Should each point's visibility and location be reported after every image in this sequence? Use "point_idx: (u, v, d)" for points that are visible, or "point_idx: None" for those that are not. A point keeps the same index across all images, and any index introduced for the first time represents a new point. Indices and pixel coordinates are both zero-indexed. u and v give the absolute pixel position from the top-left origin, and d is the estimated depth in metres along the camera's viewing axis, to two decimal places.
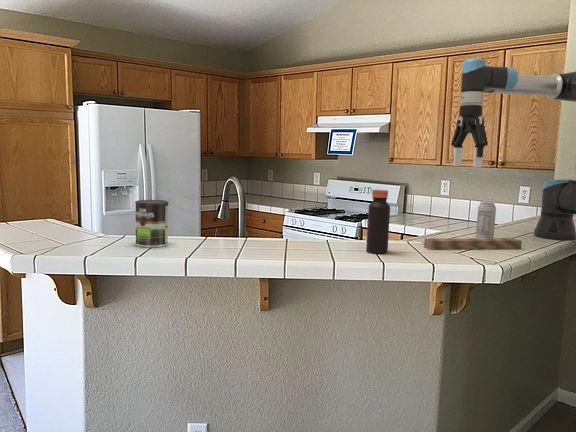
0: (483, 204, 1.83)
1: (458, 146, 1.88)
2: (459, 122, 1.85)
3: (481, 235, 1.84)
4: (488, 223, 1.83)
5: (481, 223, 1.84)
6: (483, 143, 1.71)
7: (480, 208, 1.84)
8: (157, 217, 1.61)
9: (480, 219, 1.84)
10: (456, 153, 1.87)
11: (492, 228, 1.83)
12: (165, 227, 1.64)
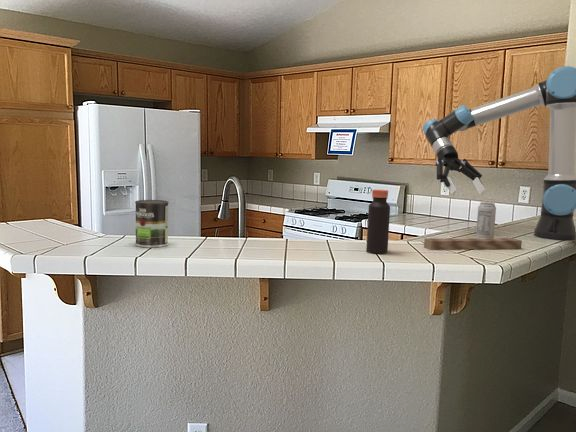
0: (483, 204, 1.83)
1: (475, 178, 2.00)
2: None
3: (481, 235, 1.84)
4: (488, 223, 1.83)
5: (481, 223, 1.84)
6: (437, 177, 1.94)
7: (480, 208, 1.84)
8: (157, 217, 1.61)
9: (480, 219, 1.84)
10: (475, 185, 1.99)
11: (492, 228, 1.83)
12: (165, 227, 1.64)
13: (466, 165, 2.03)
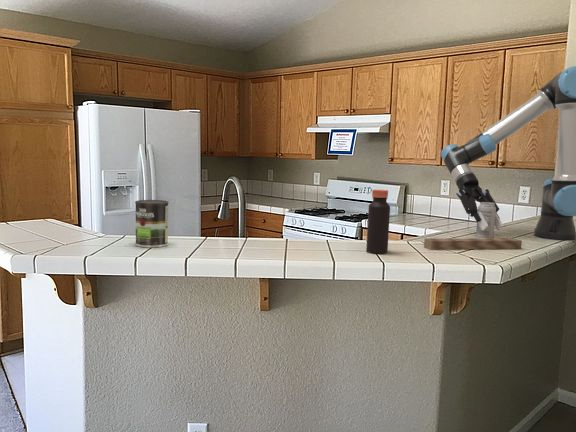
0: (483, 204, 1.83)
1: None
2: (483, 193, 1.94)
3: (481, 235, 1.84)
4: (488, 223, 1.83)
5: None
6: (467, 211, 1.85)
7: (480, 208, 1.84)
8: (157, 217, 1.61)
9: None
10: None
11: (492, 228, 1.83)
12: (165, 227, 1.64)
13: (486, 195, 1.92)
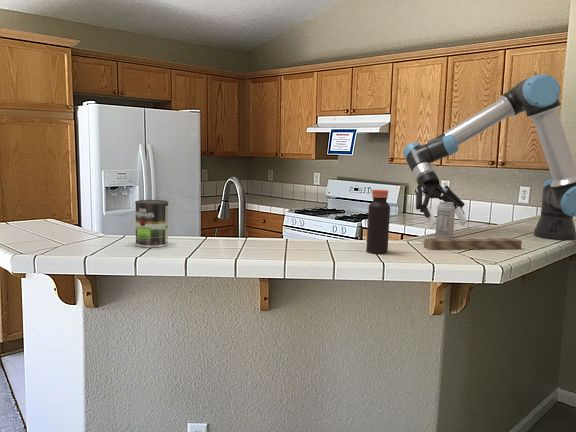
0: (442, 204, 1.80)
1: (457, 207, 1.87)
2: None
3: (440, 235, 1.81)
4: (447, 223, 1.80)
5: (440, 223, 1.81)
6: (417, 206, 1.81)
7: (439, 208, 1.81)
8: (157, 217, 1.61)
9: (439, 219, 1.81)
10: (457, 214, 1.86)
11: (451, 228, 1.80)
12: (165, 227, 1.64)
13: (448, 192, 1.90)
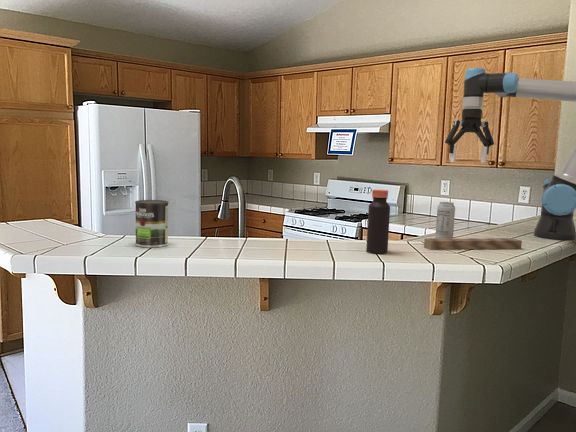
0: (442, 204, 1.80)
1: (485, 145, 2.07)
2: None
3: (440, 235, 1.81)
4: (447, 223, 1.80)
5: (440, 223, 1.81)
6: (446, 141, 2.04)
7: (439, 208, 1.81)
8: (157, 217, 1.61)
9: (439, 219, 1.81)
10: (482, 151, 2.08)
11: (451, 228, 1.80)
12: (165, 227, 1.64)
13: (485, 129, 2.06)
